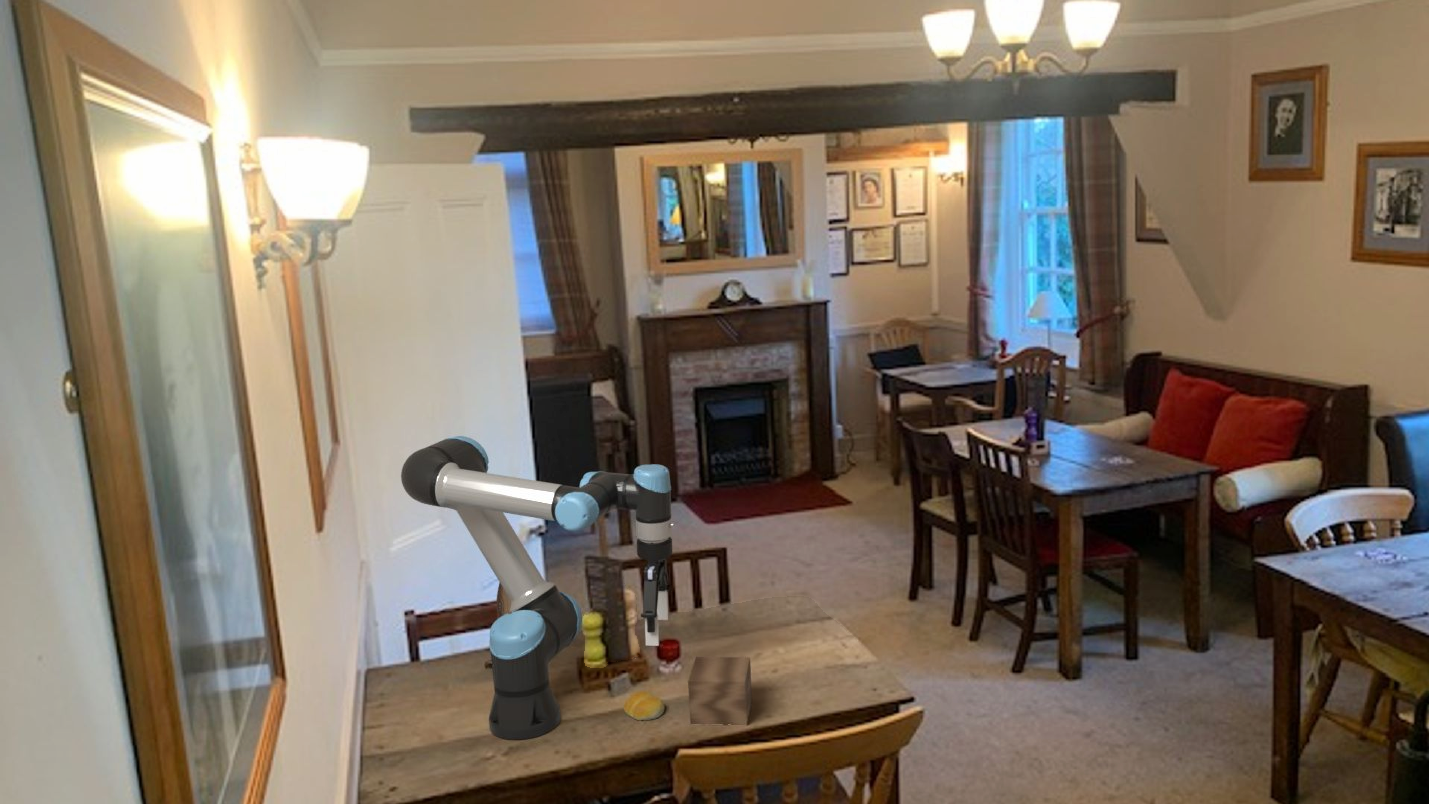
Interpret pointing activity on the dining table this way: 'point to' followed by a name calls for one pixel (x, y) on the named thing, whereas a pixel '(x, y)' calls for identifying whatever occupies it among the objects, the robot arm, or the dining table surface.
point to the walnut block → (720, 690)
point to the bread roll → (644, 706)
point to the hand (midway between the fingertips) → (657, 631)
